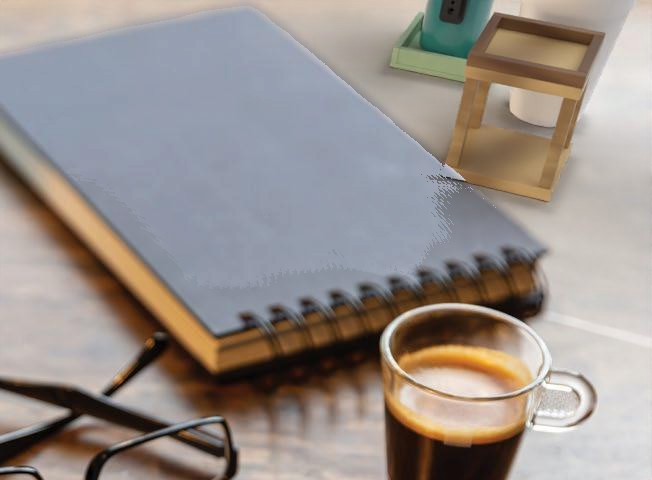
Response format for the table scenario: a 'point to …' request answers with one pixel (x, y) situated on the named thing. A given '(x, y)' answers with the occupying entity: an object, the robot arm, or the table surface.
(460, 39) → the teal rounded block
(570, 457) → the table surface
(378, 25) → the table surface
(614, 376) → the table surface
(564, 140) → the stand
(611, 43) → the foam cup
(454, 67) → the tray
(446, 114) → the table surface
